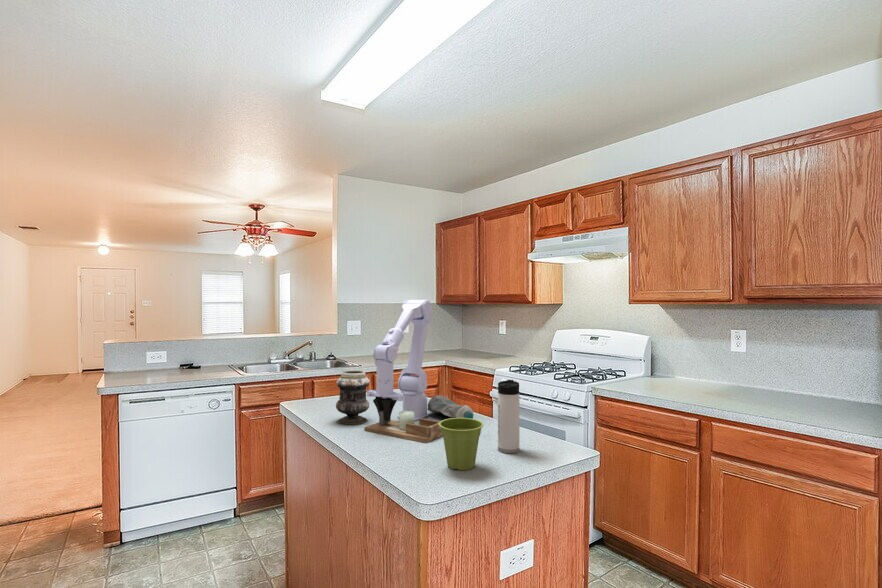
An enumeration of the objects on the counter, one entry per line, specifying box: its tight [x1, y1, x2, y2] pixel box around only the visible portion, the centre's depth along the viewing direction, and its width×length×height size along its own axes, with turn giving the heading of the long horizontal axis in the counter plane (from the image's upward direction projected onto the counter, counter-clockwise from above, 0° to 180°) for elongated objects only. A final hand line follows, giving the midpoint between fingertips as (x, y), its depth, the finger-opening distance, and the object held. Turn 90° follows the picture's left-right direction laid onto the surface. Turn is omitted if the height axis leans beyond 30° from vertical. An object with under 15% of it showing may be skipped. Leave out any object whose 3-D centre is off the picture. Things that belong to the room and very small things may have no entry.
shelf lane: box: [364, 417, 443, 444], centre depth 154 cm, size 12×25×4 cm, turn 57°
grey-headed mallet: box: [378, 410, 415, 430], centre depth 156 cm, size 5×13×5 cm, turn 57°
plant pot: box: [439, 417, 484, 471], centre depth 123 cm, size 12×12×11 cm
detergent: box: [427, 394, 475, 419], centre depth 172 cm, size 13×7×25 cm
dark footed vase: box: [335, 369, 370, 425], centre depth 168 cm, size 12×12×18 cm
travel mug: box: [497, 379, 520, 454], centre depth 136 cm, size 6×7×20 cm
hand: (384, 419), depth 159 cm, fingers closed on grey-headed mallet, 2 cm apart
